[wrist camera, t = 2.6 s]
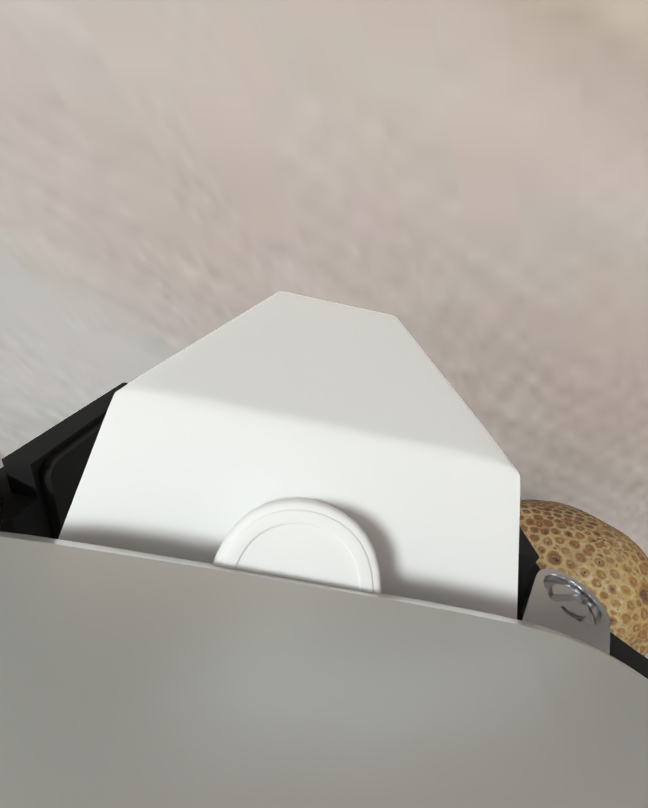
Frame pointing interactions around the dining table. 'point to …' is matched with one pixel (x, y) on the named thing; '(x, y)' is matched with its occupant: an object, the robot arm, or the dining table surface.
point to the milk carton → (308, 462)
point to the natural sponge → (593, 563)
